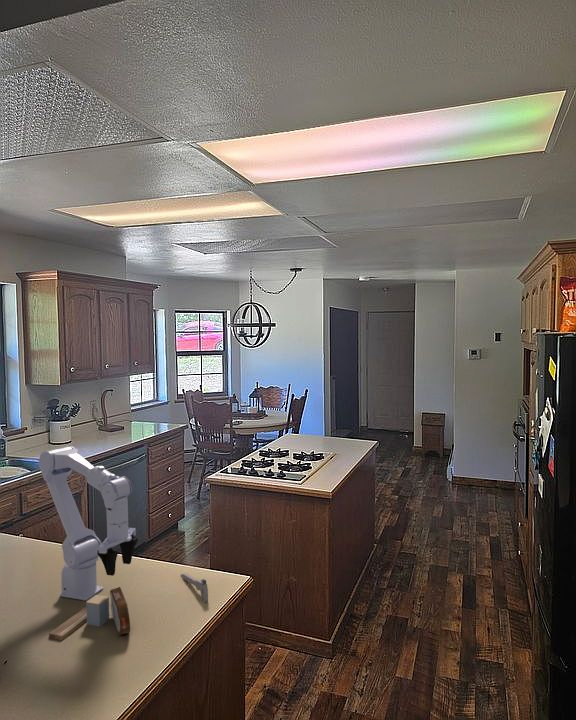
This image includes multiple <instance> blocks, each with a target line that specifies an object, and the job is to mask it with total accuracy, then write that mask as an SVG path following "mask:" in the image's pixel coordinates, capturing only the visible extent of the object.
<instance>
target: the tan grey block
mask: <svg viewBox="0 0 576 720" xmlns="http://www.w3.org/2000/svg"><path fill="white" fill-rule="evenodd" d="M85 604H86V606H85V607H86V608H87V621H86V625H89V626H95V627H100V626H102V625H103V624H104V623H106V622H107V621H108V620H110V596H107V595H101V594H95V595H93V596H92V597H91V598H89V599H88V600H86V602H85Z"/></svg>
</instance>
